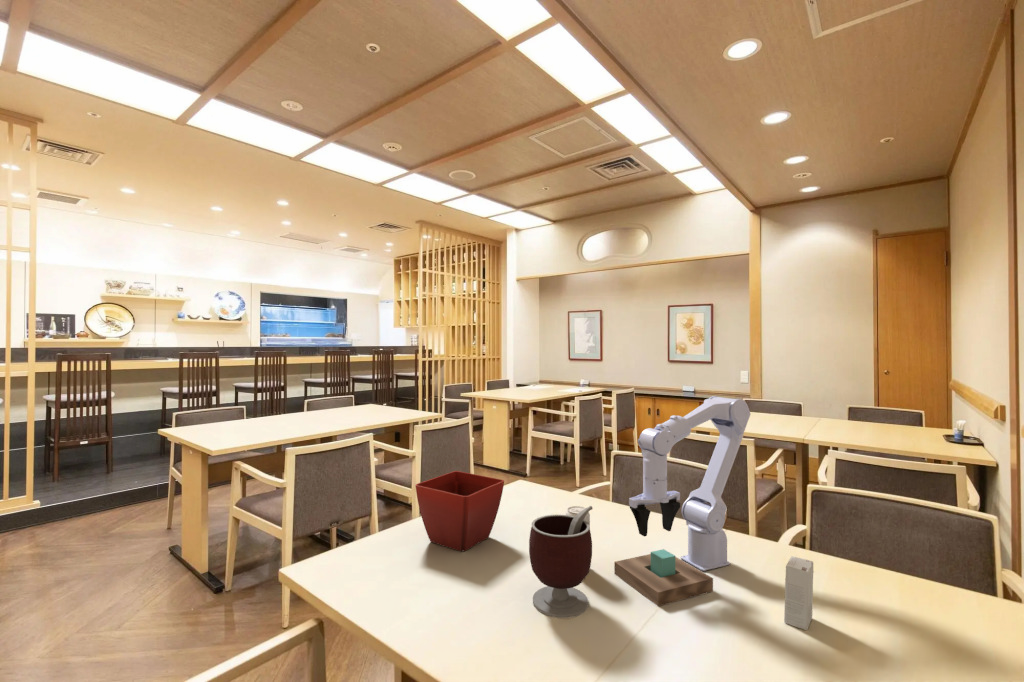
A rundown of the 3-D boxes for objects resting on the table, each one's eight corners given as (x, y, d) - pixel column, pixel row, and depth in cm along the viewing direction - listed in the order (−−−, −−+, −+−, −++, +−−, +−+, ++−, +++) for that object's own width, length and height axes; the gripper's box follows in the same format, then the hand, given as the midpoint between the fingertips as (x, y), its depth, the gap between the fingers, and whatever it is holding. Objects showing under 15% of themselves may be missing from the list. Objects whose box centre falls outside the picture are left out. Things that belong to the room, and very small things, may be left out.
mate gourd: (550, 627, 97) (550, 527, 97) (517, 594, 109) (518, 507, 109) (611, 607, 104) (611, 515, 104) (574, 579, 116) (574, 497, 116)
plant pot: (505, 536, 142) (505, 479, 143) (466, 560, 126) (466, 496, 126) (455, 522, 153) (455, 470, 153) (413, 544, 137) (413, 484, 137)
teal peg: (663, 577, 117) (663, 549, 117) (675, 585, 114) (675, 555, 114) (650, 581, 116) (650, 552, 116) (662, 588, 112) (662, 558, 112)
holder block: (665, 562, 125) (665, 550, 125) (713, 591, 111) (713, 578, 111) (614, 573, 119) (614, 561, 119) (658, 606, 104) (658, 592, 104)
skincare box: (789, 610, 103) (789, 554, 103) (813, 618, 100) (813, 560, 100) (783, 623, 98) (783, 564, 98) (808, 632, 95) (808, 571, 95)
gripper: (642, 485, 113) (642, 543, 112) (689, 478, 119) (689, 533, 118) (623, 477, 119) (623, 532, 119) (668, 471, 125) (668, 523, 125)
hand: (655, 532), depth 119 cm, fingers open, 7 cm apart
